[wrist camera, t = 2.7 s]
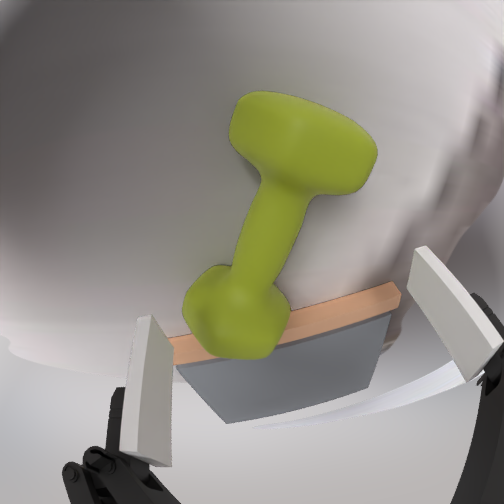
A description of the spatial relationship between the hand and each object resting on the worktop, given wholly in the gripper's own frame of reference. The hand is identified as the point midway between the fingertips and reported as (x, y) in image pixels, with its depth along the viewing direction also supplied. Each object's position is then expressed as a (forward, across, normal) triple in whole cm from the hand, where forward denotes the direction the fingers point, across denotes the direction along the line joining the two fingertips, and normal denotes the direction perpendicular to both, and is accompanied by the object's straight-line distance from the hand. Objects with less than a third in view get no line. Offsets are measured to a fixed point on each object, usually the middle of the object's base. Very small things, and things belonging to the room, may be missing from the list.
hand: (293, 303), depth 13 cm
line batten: (+9, 0, -11) cm, 14 cm away
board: (+9, 0, -24) cm, 26 cm away
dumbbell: (+9, 0, +1) cm, 9 cm away
